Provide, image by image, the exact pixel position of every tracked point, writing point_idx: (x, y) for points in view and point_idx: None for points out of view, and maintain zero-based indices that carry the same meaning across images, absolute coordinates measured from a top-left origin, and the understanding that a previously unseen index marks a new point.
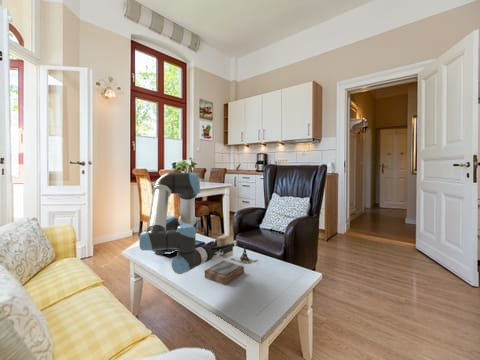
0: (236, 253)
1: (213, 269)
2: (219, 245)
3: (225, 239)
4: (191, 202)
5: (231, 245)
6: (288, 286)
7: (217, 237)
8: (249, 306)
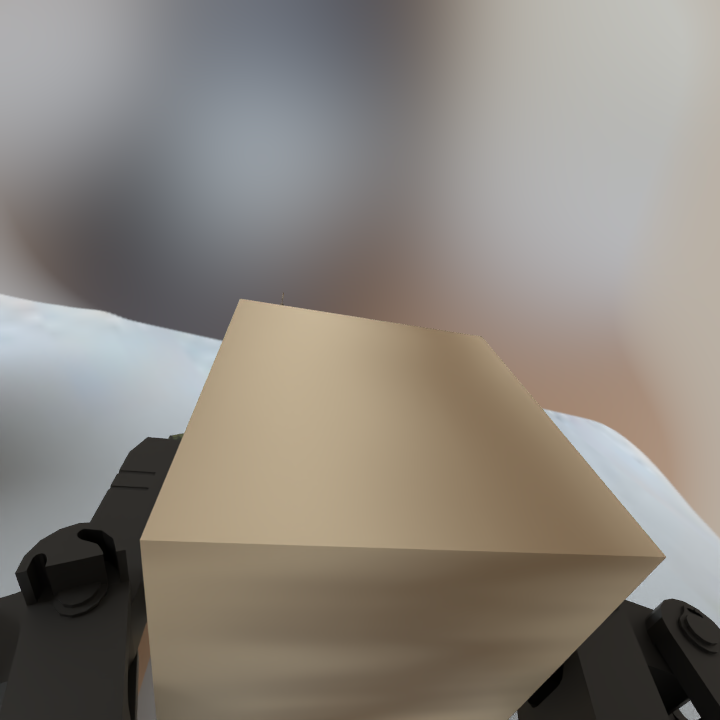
0: (175, 375)
1: None
2: (280, 713)
3: (625, 562)
4: None
5: (716, 643)
6: (703, 597)
7: (184, 544)
8: None
